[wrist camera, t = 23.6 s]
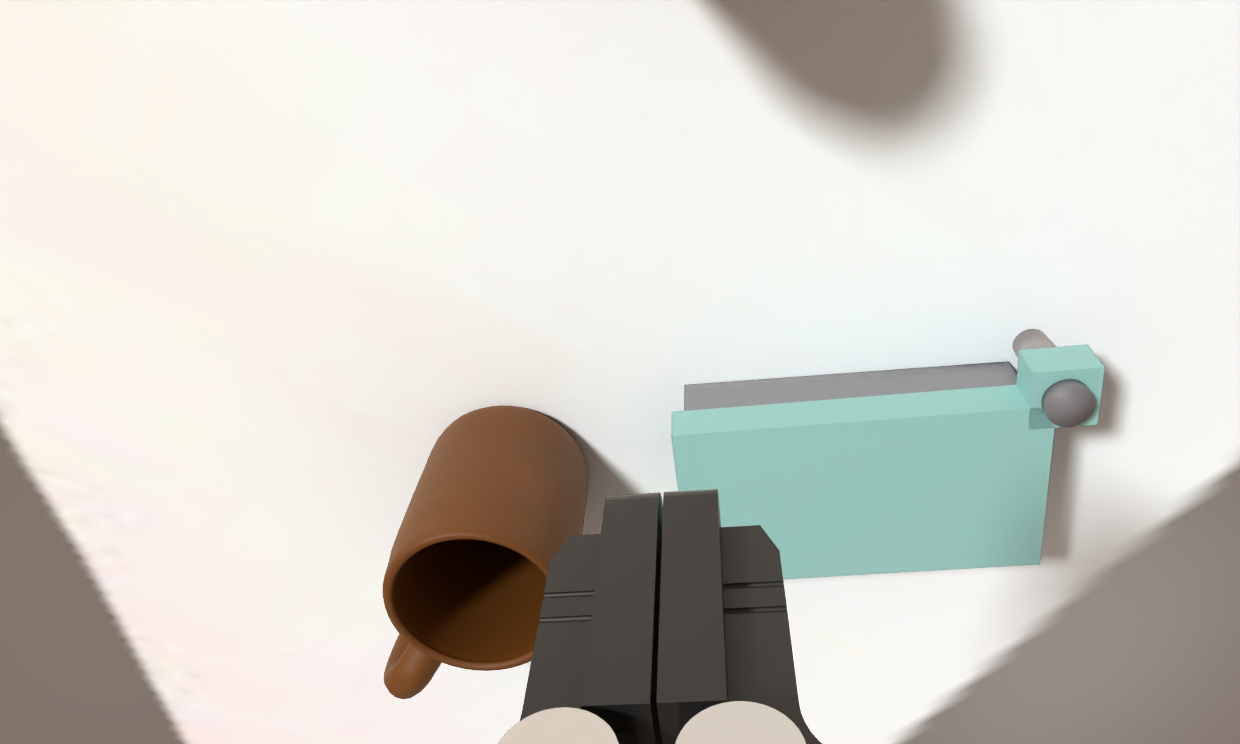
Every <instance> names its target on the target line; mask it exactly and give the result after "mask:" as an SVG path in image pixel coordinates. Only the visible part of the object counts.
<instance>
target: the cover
mask: <svg viewBox="0 0 1240 744" xmlns="http://www.w3.org/2000/svg"><path fill="white" fill-rule="evenodd" d="M1104 370H1105V367H1104V365H1103V364H1102V363H1101V361H1100V360H1099V359H1098V357H1097V356H1096V355H1095V353H1094V352H1093V351H1092V349H1091V348H1090V347H1089V346H1088V344H1087V345H1075V346H1063V347H1051V348H1039V349H1027V350H1019V358H1018V370H1017V382H1016V385H1006V386H994V387H981V388H968V389H956V390H943V391H930V392H918V393H905V394H893V395H880V396H867V397H855V398H842V399H830V400H817V401H804V402H792V403H779V404H766V405H754V406H741V407H729V408H716V409H703V410H691V411H678V412H672V427H671V437H672V445H673V453H674V461H675V469H676V477H677V485H678V491H694V490H710V489H718V496H719V507H720V519H721V527H735V526H753V525H760V526H761V527H762V528H763V530H764V531H765V532H766V534H767V535H768V536H769V537H770V539H771V540H772V541H773V543H774V544H775V545H776V547H777V548H778V549H779V551H780V559H781V567H782V575H783V579H795V578H812V577H829V576H847V575H864V574H881V573H898V572H915V571H933V570H950V569H967V568H984V567H1001V566H1019V565H1036V564H1040V559H1041V549H1042V540H1043V530H1044V521H1045V512H1046V502H1047V493H1048V484H1049V474H1050V465H1051V456H1052V446H1053V437H1054V428H1059V427H1073V426H1086V425H1097V422H1098V415H1099V407H1100V400H1101V392H1102V385H1103V377H1104Z"/></svg>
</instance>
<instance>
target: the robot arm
mask: <svg viewBox="0 0 1240 744" xmlns="http://www.w3.org/2000/svg"><path fill="white" fill-rule="evenodd" d="M498 744H822V743H820V742H819V741H818V740H817V738H816V737H815V736H814V735H813V734H812V733H811V731H810V730H809V728H808V727H807V725H806V724H805V722H804V719H803V717H802V715H801V711H800V707H799V701H798V694H797V686H796V678H795V670H794V662H793V654H792V646H791V638H790V630H789V622H788V614H787V607H786V598H785V590H784V584H783V575H782V567H781V559H780V551H779V549H778V548H777V547H776V545H775V544H774V543H773V541H772V540H771V539H770V537H769V536H768V535H767V534H766V532H765V531H764V530H763V528H762V527H761V526H760V525H753V526H735V527H721V519H720V507H719V496H718V489H710V490H694V491H677V492H664V498H663V503H662V497H661V494H660V493H648V494H631V495H615V496H607V497H606V500H605V507H604V515H603V524H602V532H601V534H596V535H578V536H569V537H568V539H567V540H566V542H565V543H564V544H563V546H562V547H561V548H560V550H559V551H558V552H557V554H556V555H555V556H554V558H553V559H552V560H551V562H550V563H549V568H548V574H547V579H546V585H545V590H544V599H543V601H542V606H541V612H540V624H538V628H537V634H536V639H535V645H534V650H533V655H532V661H531V666H530V672H529V677H528V683H527V688H526V694H525V699H524V705H523V710H522V715H521V718H520V722H518V723H517V724H515V725H514V726H513V727H512V728H511V729H510V730H508V731H507V732H506V734H505V735H504V736H503V737H502V738H501V740H500V741H499V743H498Z"/></svg>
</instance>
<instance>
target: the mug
mask: <svg viewBox="0 0 1240 744" xmlns="http://www.w3.org/2000/svg"><path fill="white" fill-rule="evenodd" d="M587 492H588V472H587V467H586V462H585V459H584V456H583V453H582V451H581V450H580V448H579V446H578V444H577V443H576V441H575V440H574V439H573V437H572V436H571V435H570V434H569V433H568V432H567V431H566V430H565V429H564V428H563V427H561V426H560V425H559V424H558V423H556V422H555V421H553V420H552V419H550V418H549V417H547V416H545V415H543V414H541V413H538V412H535V411H533V410H530V409H526V408H522V407H515V406H492V407H487V408H482V409H478V410H475V411H472V412H469V413H467V414H465V415H463V416H461V417H460V418H458V419H457V420H455V421H454V422H453V423H452V424H451V425H450V426H448V427H447V428H446V430H445V431H444V432H443V433H442V434H441V436H440V437H439V438H438V440H437V442H436V444H435V445H434V447H433V449H432V451H431V454H430V456H429V458H428V461H427V463H426V466H425V468H424V471H423V473H422V475H421V478H420V480H419V482H418V484H417V487H416V489H415V492H414V494H413V497H412V499H411V502H410V504H409V507H408V509H407V512H406V514H405V516H404V519H403V521H402V524H401V526H400V529H399V531H398V534H397V537H396V539H395V542H394V545H393V548H392V551H391V555H390V559H389V563H388V567H387V570H386V573H385V577H384V582H383V598H384V604H385V608H386V610H387V613H388V616H389V618H390V620H391V622H392V624H393V625H394V626H395V628H396V629H397V631H398V632H399V633H400V634H399V636H398V638H397V640H396V643H395V645H394V647H393V649H392V652H391V654H390V657H389V660H388V662H387V666H386V669H385V673H384V683H385V685H386V687H387V689H388V690H389V692H390V693H391V694H392V695H394V696H395V697H397V698H401V699H407V698H411V697H413V696H414V695H416V694H418V693H419V692H421V691H422V690H423V689H424V688H425V686H426V685H427V684H428V683H429V681H430V680H431V679H432V677H433V675H434V674H435V672H436V671H437V669H438V667H439V666H440V664H441V663H445V664H449V665H452V666H455V667H460V668H464V669H471V670H486V671H488V670H501V669H508V668H512V667H516V666H519V665H522V664H525V663H527V662H529V661H531V660H532V655H533V650H534V645H535V639H536V634H537V628H538V624H540V612H541V606H542V601H543V599H544V590H545V585H546V579H547V574H548V568H549V563H550V562H551V560H552V559H553V558H554V556H555V555H556V554H557V552H558V551H559V550H560V548H561V547H562V546H563V544H564V543H565V542H566V540H567V539H568V537H569V536H578V535H582V531H583V523H584V514H585V507H586V500H587Z"/></svg>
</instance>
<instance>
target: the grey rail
mask: <svg viewBox="0 0 1240 744" xmlns="http://www.w3.org/2000/svg"><path fill="white" fill-rule="evenodd" d="M1051 347H1053V346H1052V344H1051V343H1050V341H1049V340H1048V339H1047V337H1046V336H1045V334H1044V333H1043V332H1041V331H1039V330H1036V329H1029V330H1026V331H1023V332H1021V333H1020V334H1019V335H1018V336H1017V337H1016V338H1015V340H1014V342H1013V350H1014V352H1015V354H1016V356H1017V357H1018V358H1019V350H1027V349H1039V348H1051ZM1016 382H1017V375H1016V373H1015V371H1014V369H1013V368H1012V366H1011V364H1010V363H1009V362H995V363H982V364H968V365H954V366H940V367H926V368H913V369H899V370H885V371H871V372H858V373H844V374H830V375H816V376H802V377H789V378H775V379H761V380H747V381H733V382H720V383H706V384H692V385H684V411H691V410H703V409H716V408H729V407H741V406H754V405H766V404H779V403H792V402H804V401H817V400H830V399H842V398H855V397H867V396H880V395H893V394H905V393H918V392H930V391H943V390H956V389H968V388H981V387H994V386H1006V385H1016Z"/></svg>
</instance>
